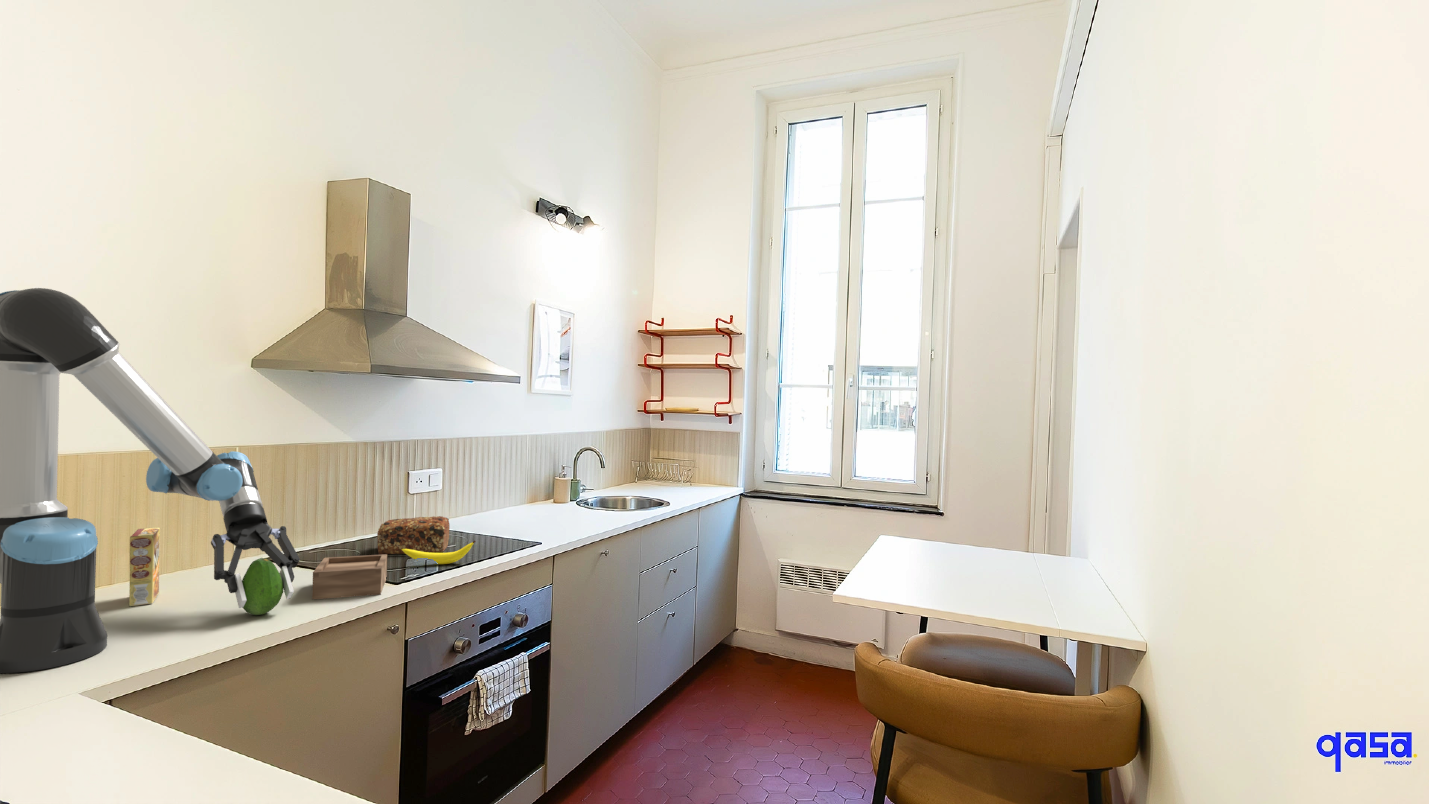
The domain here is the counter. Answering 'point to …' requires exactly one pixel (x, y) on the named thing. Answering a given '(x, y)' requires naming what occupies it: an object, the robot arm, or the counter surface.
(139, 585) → the candy box
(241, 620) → the counter surface
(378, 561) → the walnut wooden box
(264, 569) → the avocado
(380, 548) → the bread
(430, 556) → the banana
